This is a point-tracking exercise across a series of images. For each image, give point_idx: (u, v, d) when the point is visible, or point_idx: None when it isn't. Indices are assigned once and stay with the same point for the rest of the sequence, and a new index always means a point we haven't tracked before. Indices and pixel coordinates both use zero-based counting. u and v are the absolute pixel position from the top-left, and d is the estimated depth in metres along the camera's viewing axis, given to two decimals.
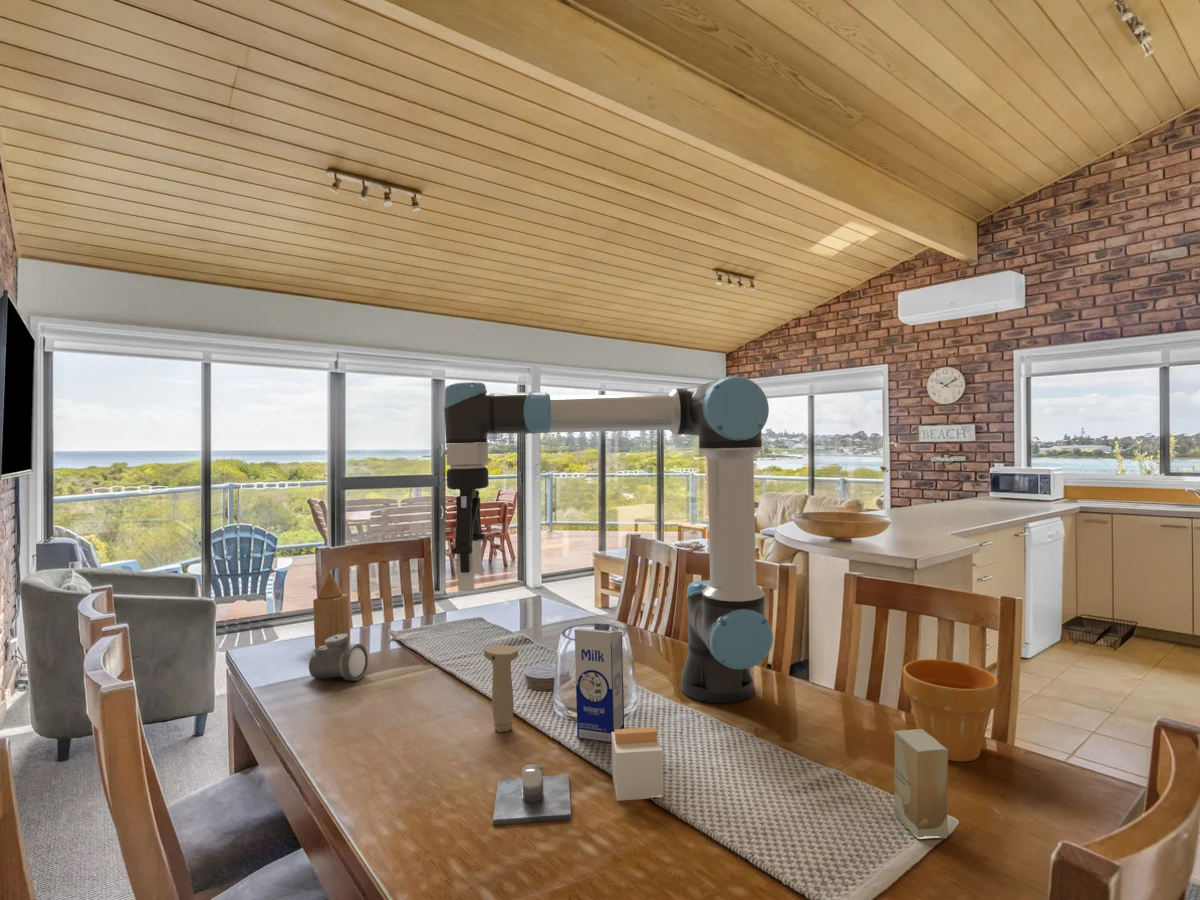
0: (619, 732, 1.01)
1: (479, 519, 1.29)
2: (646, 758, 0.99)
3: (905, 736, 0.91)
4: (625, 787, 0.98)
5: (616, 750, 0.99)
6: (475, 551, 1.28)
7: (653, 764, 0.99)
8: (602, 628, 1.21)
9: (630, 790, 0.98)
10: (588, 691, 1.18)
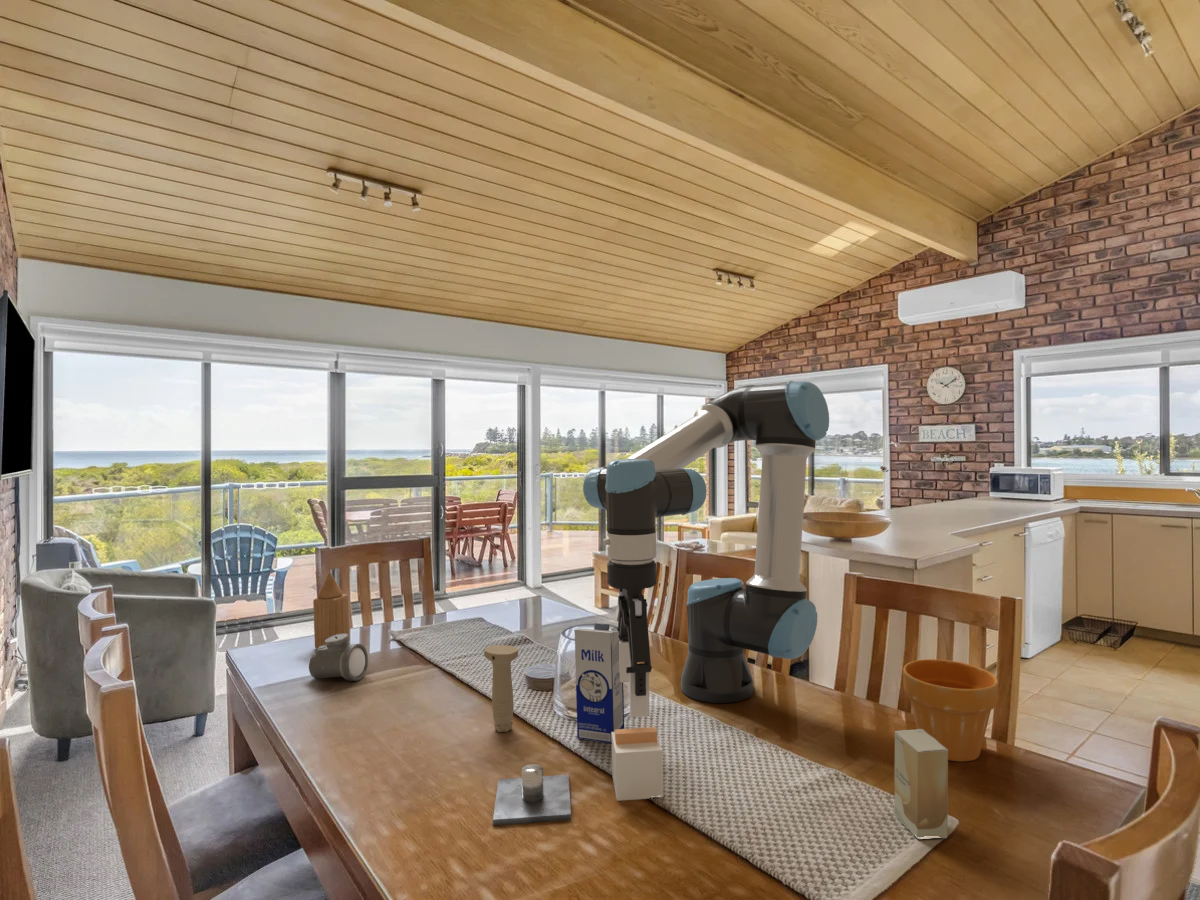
0: (619, 732, 1.01)
1: None
2: (646, 758, 0.99)
3: (905, 736, 0.91)
4: (625, 787, 0.98)
5: (616, 750, 0.99)
6: (629, 654, 1.08)
7: (653, 764, 0.99)
8: (602, 628, 1.20)
9: (630, 790, 0.98)
10: (588, 691, 1.18)
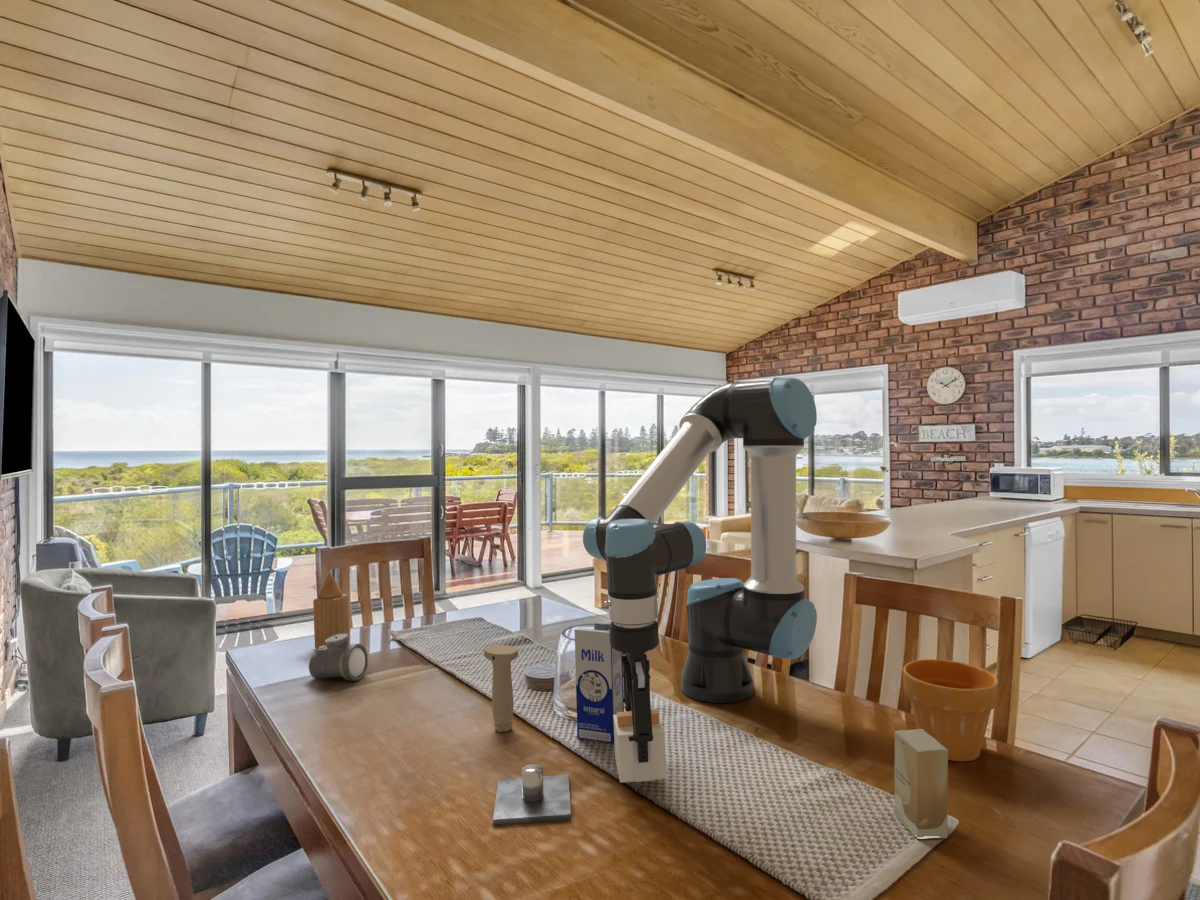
0: (621, 715, 1.02)
1: None
2: None
3: (905, 736, 0.91)
4: (628, 768, 0.99)
5: (618, 732, 0.99)
6: None
7: (655, 746, 0.99)
8: (602, 628, 1.21)
9: (632, 771, 0.99)
10: (588, 691, 1.18)
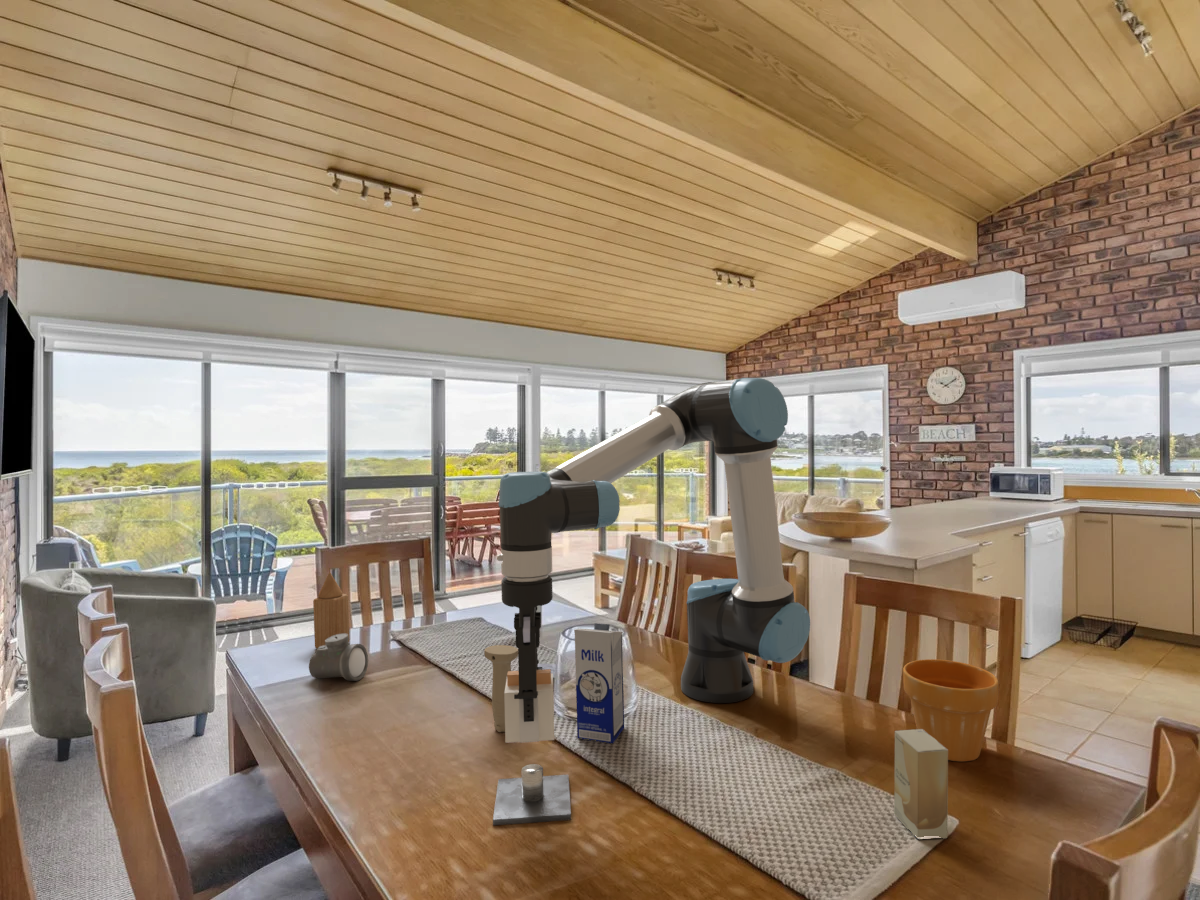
0: (511, 673, 0.98)
1: None
2: None
3: (905, 736, 0.91)
4: (514, 728, 0.95)
5: (505, 690, 0.95)
6: None
7: (543, 705, 0.95)
8: (602, 628, 1.21)
9: (519, 732, 0.95)
10: (588, 691, 1.18)
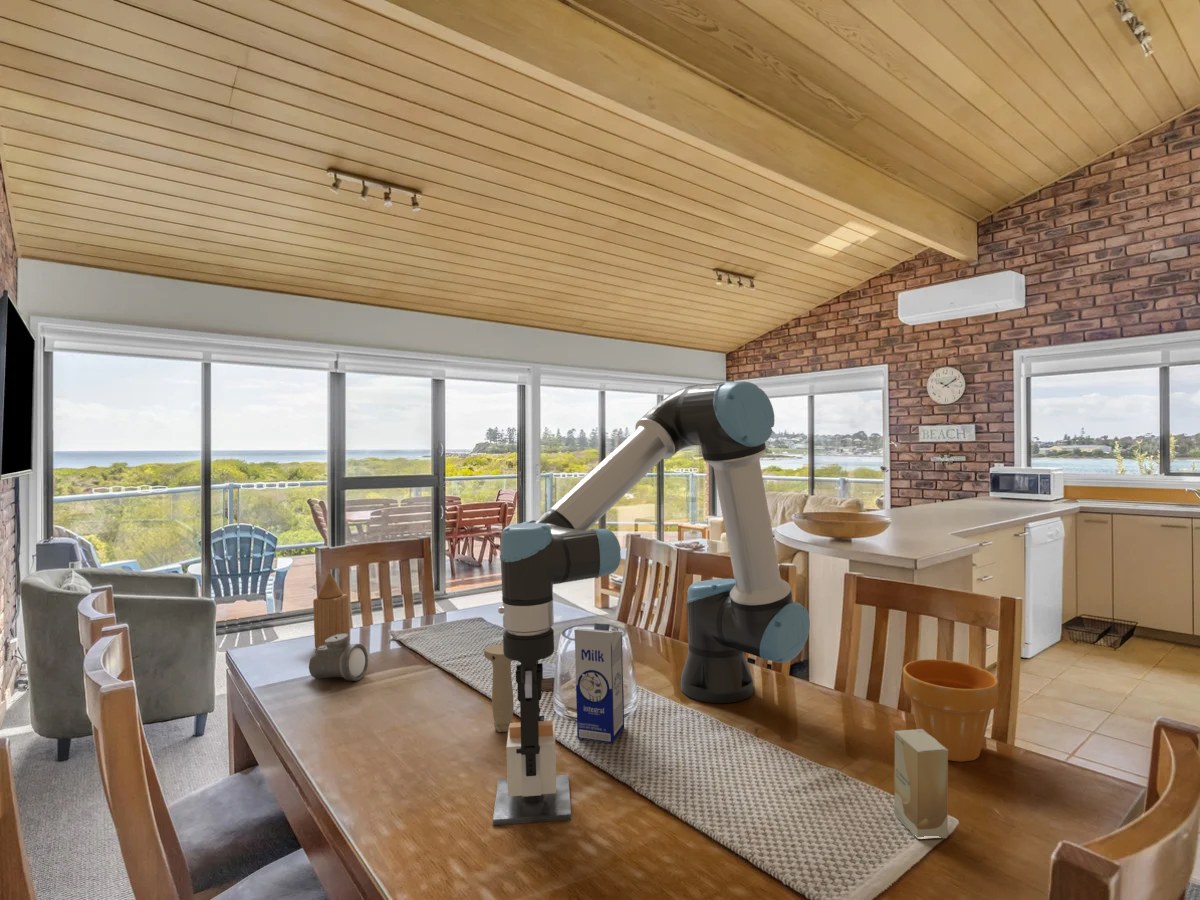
0: (513, 725, 0.98)
1: None
2: None
3: (905, 736, 0.91)
4: (516, 782, 0.95)
5: (508, 744, 0.96)
6: None
7: (545, 758, 0.95)
8: (602, 628, 1.21)
9: (521, 785, 0.95)
10: (588, 691, 1.18)
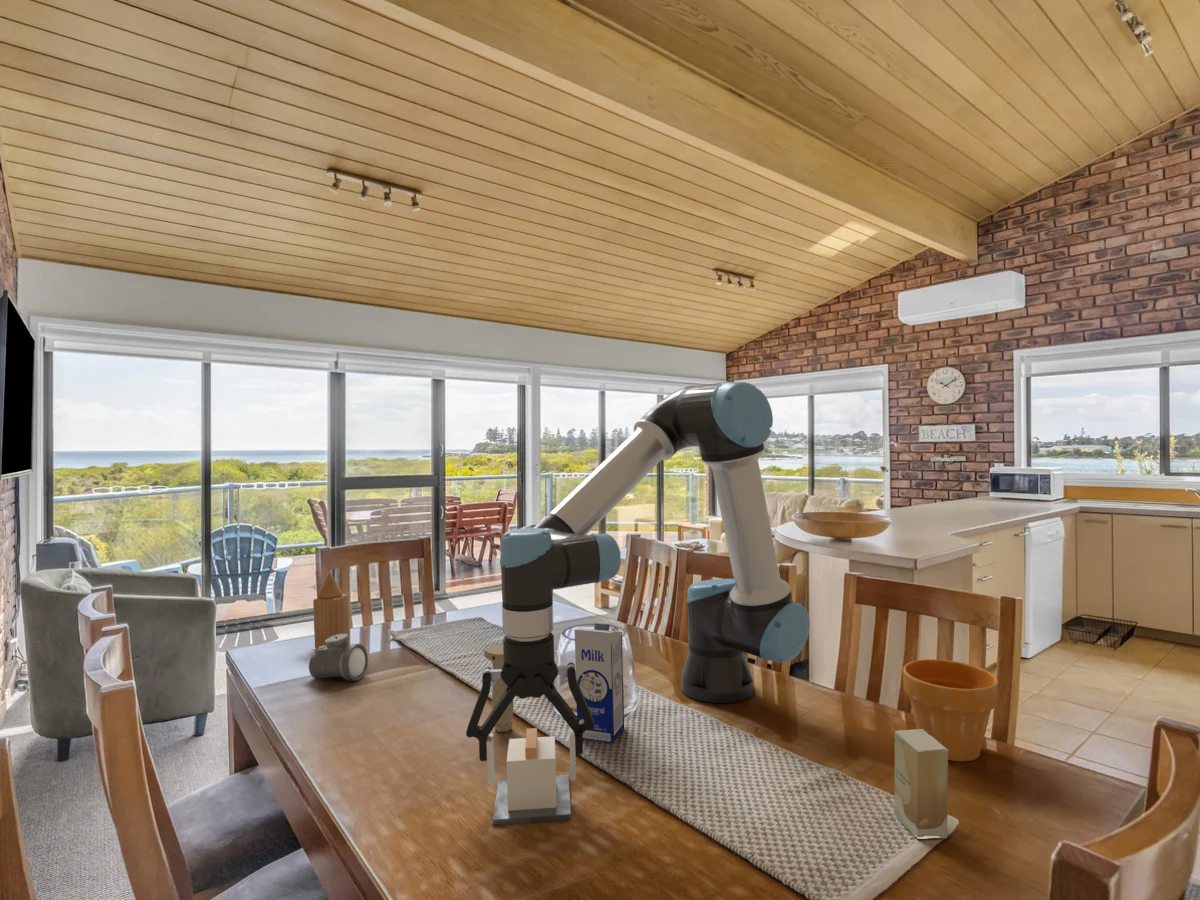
0: (529, 730, 1.01)
1: None
2: None
3: (905, 736, 0.91)
4: None
5: (514, 739, 1.02)
6: None
7: None
8: (602, 628, 1.21)
9: None
10: (588, 691, 1.18)
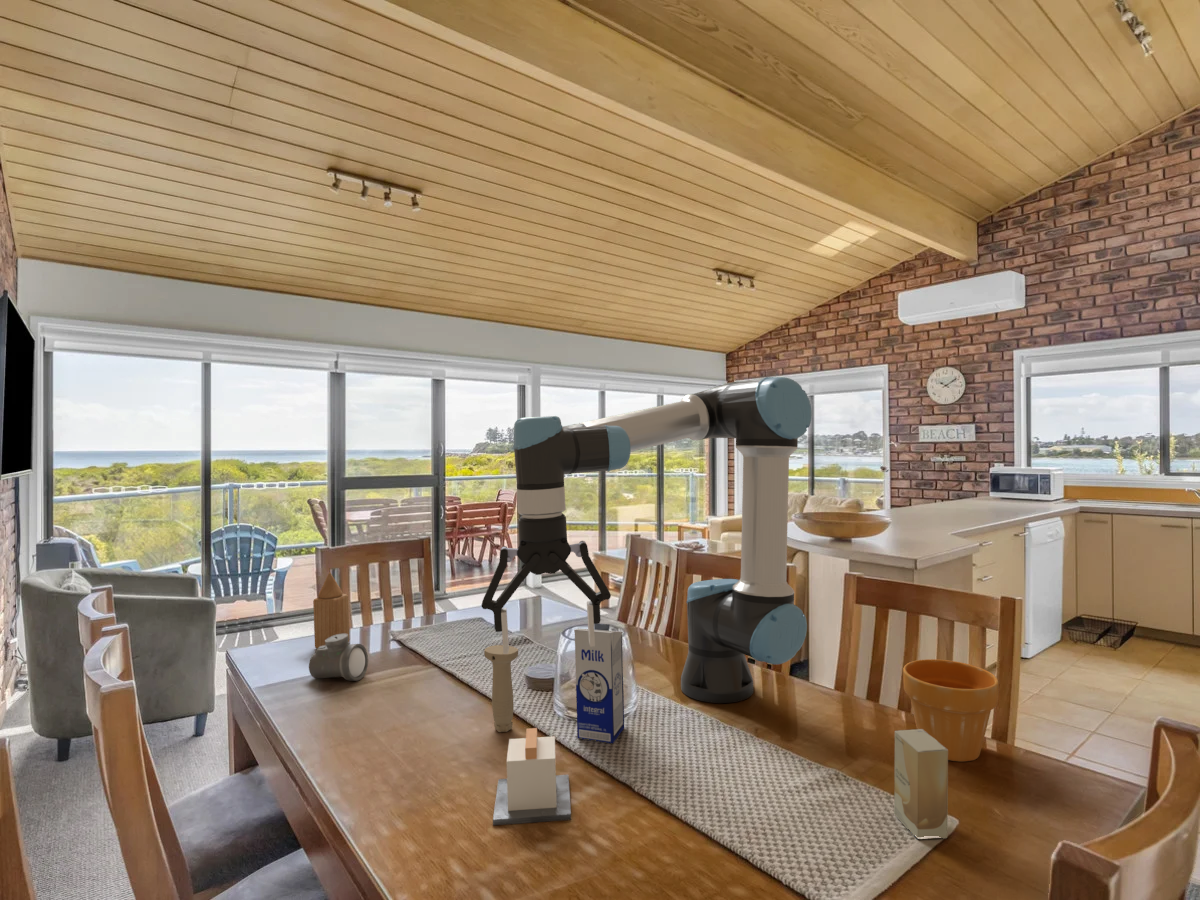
0: (529, 730, 1.01)
1: (593, 579, 1.04)
2: None
3: (905, 736, 0.91)
4: None
5: (514, 739, 1.02)
6: (588, 616, 1.05)
7: None
8: (602, 628, 1.21)
9: None
10: (588, 691, 1.18)
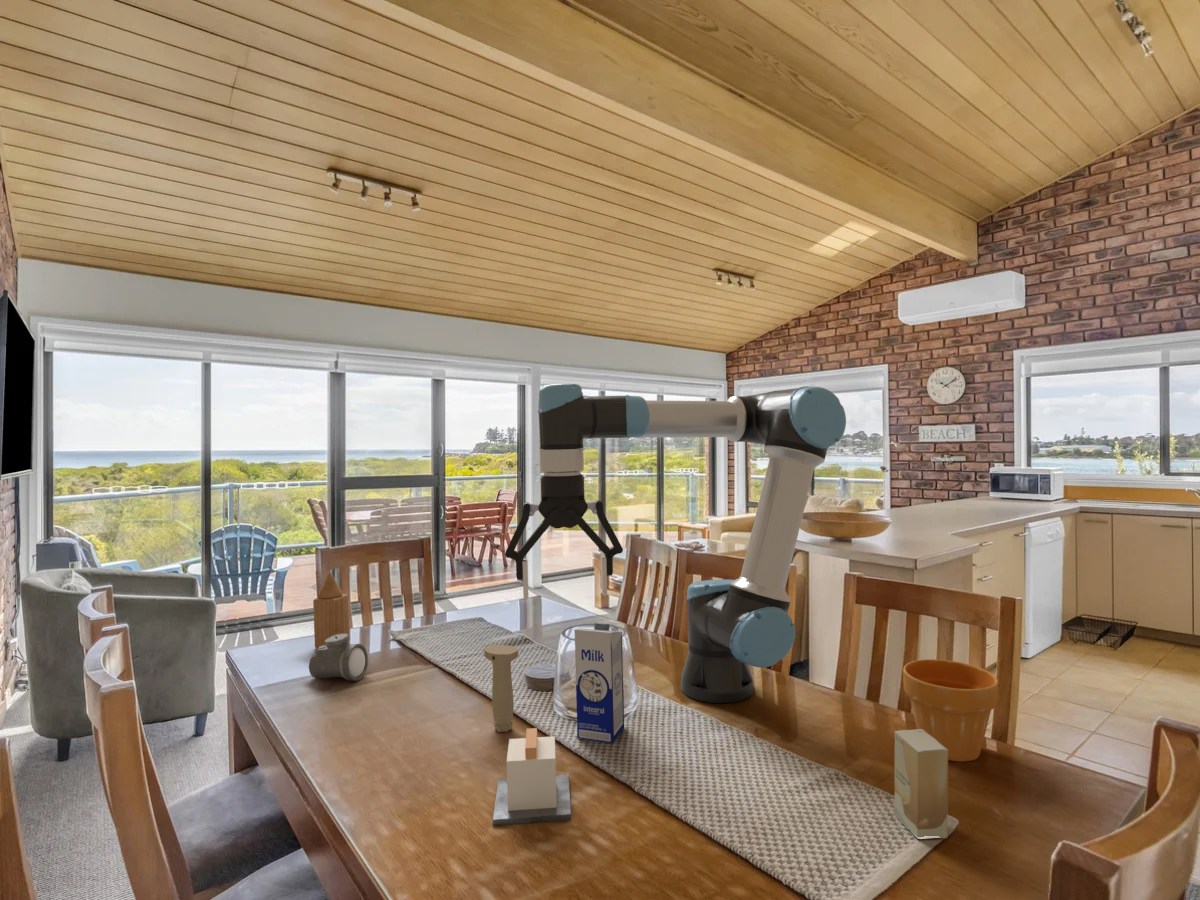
0: (529, 730, 1.01)
1: (607, 534, 1.14)
2: None
3: (905, 736, 0.91)
4: None
5: (514, 739, 1.02)
6: (601, 569, 1.15)
7: None
8: (602, 628, 1.21)
9: None
10: (588, 691, 1.18)
